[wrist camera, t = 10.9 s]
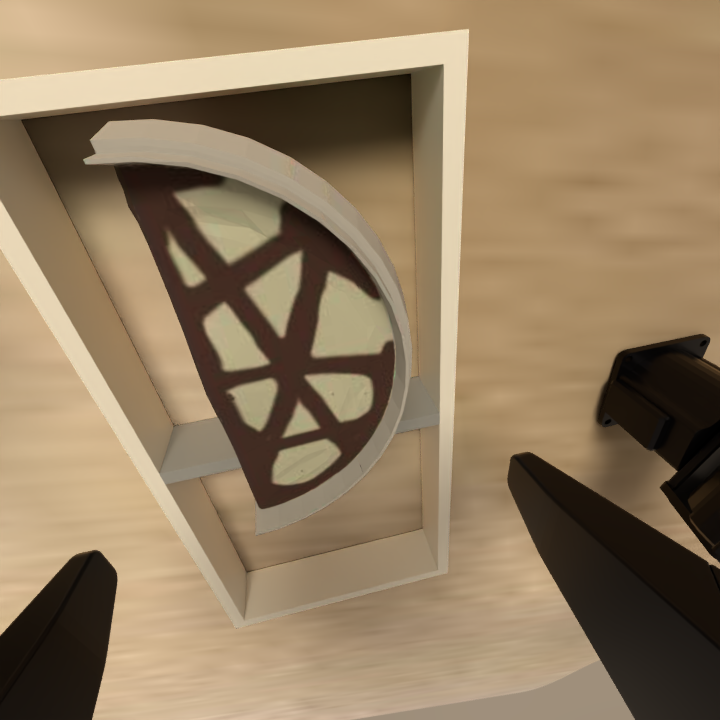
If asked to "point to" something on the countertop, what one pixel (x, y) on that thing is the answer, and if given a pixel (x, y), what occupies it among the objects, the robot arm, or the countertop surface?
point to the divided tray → (207, 437)
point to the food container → (271, 305)
